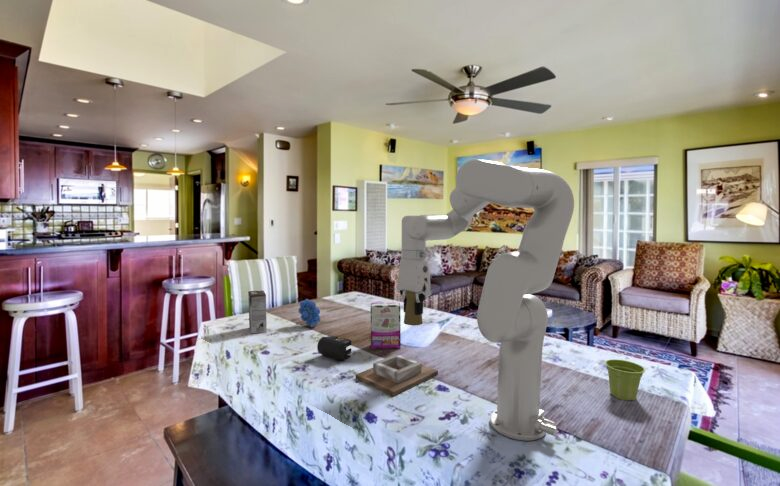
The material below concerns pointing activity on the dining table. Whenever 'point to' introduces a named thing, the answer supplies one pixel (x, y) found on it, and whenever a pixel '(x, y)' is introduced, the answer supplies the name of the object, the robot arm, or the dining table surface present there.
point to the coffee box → (257, 311)
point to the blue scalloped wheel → (309, 312)
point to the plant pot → (624, 378)
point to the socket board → (396, 374)
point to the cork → (411, 310)
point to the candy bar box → (385, 326)
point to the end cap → (334, 347)
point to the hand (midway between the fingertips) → (413, 312)
